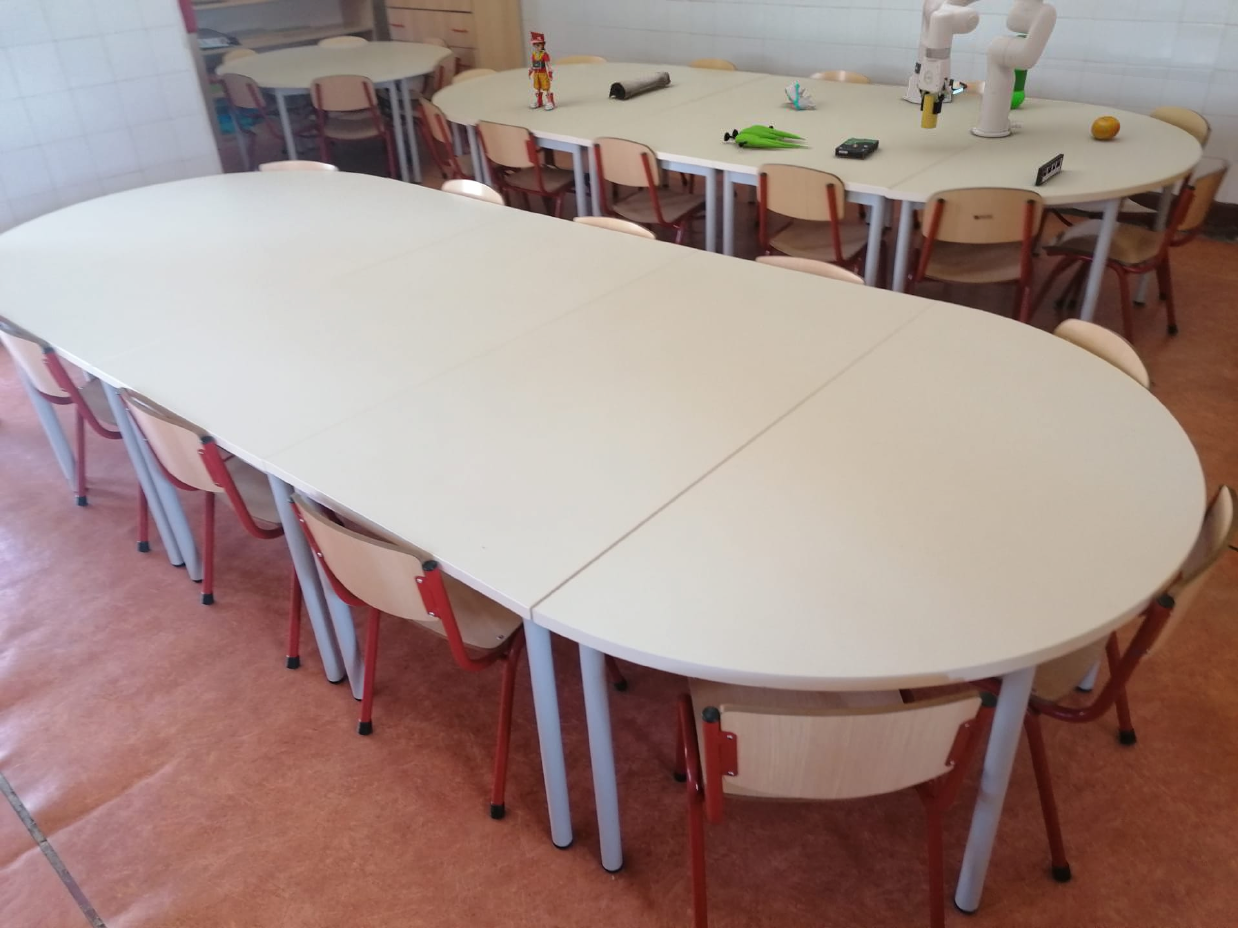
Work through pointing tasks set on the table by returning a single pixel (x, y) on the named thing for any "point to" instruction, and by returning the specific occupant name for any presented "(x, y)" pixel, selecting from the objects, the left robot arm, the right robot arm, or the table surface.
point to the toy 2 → (761, 137)
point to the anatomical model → (798, 96)
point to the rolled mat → (638, 84)
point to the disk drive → (856, 148)
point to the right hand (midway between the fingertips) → (930, 111)
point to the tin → (929, 112)
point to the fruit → (1105, 127)
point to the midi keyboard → (1049, 169)
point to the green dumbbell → (1019, 85)
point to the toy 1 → (541, 71)
